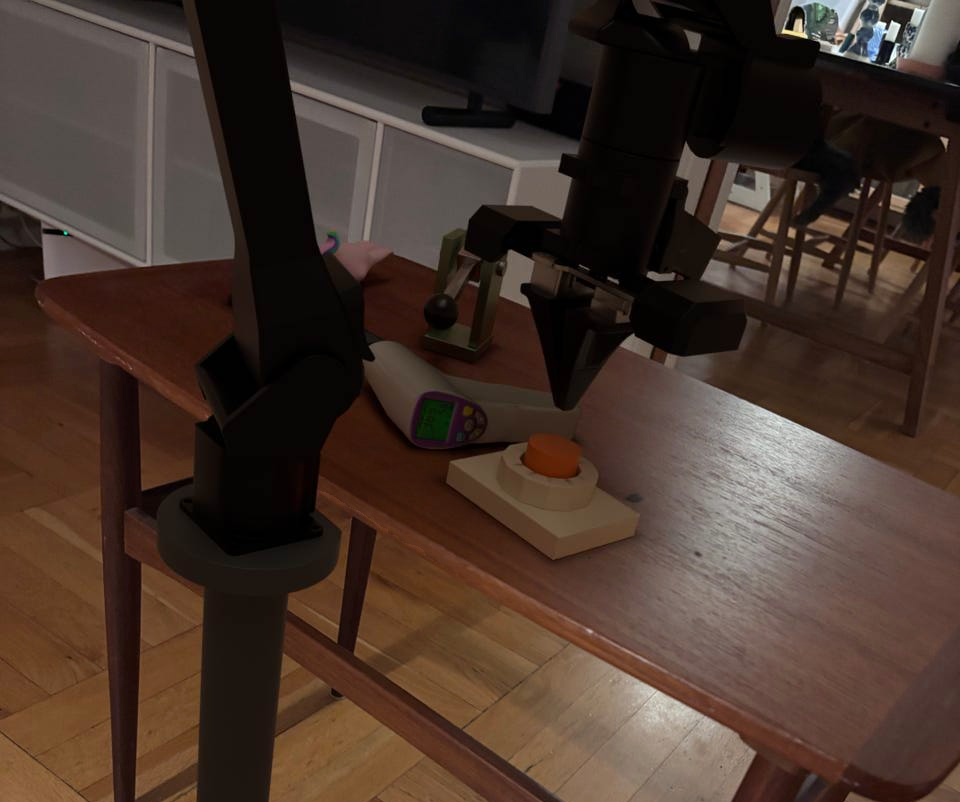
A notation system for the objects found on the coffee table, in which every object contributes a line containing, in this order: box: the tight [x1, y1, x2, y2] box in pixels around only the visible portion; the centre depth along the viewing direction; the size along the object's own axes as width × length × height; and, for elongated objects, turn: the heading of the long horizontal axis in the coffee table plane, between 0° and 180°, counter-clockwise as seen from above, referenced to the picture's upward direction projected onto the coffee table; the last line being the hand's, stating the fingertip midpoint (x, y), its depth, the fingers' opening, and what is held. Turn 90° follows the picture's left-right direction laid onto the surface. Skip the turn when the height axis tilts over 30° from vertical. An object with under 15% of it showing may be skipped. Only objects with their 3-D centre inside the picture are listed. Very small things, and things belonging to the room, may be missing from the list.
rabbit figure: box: [319, 230, 395, 283], centre depth 98 cm, size 6×6×15 cm
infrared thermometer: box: [362, 340, 583, 450], centre depth 77 cm, size 5×12×15 cm
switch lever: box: [422, 243, 484, 330], centre depth 85 cm, size 11×3×3 cm, turn 163°
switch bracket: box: [422, 227, 510, 364], centre depth 89 cm, size 6×6×10 cm
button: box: [523, 434, 582, 479], centre depth 65 cm, size 4×4×2 cm
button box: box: [445, 442, 641, 561], centre depth 67 cm, size 8×11×4 cm
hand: (563, 408), depth 63 cm, fingers closed
